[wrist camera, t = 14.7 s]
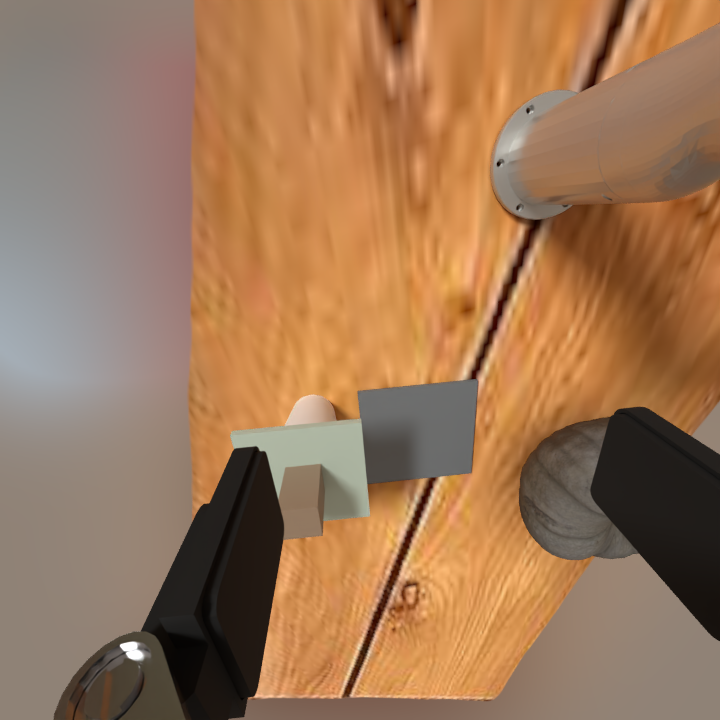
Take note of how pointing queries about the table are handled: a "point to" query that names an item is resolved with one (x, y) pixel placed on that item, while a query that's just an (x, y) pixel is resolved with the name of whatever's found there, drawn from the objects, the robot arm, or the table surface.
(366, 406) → the mat
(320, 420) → the foam cup
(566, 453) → the gourd
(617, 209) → the table surface
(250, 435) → the lid
